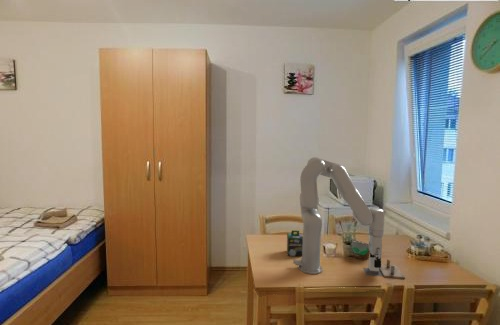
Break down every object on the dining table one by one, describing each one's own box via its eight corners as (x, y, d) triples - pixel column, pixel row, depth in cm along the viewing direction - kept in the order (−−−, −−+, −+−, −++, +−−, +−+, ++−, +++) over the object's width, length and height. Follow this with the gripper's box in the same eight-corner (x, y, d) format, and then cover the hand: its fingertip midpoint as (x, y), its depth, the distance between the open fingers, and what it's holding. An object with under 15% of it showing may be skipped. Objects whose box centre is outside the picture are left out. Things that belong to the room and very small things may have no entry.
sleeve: (370, 273, 163) (370, 260, 163) (368, 269, 168) (368, 257, 167) (378, 274, 163) (379, 261, 162) (376, 270, 167) (377, 257, 167)
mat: (366, 275, 162) (366, 274, 162) (362, 268, 170) (362, 267, 170) (384, 276, 160) (384, 276, 160) (380, 269, 169) (380, 269, 169)
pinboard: (384, 277, 159) (384, 267, 159) (376, 265, 174) (377, 256, 174) (404, 279, 158) (405, 269, 157) (395, 267, 173) (396, 258, 172)
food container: (346, 256, 187) (347, 240, 186) (351, 254, 191) (351, 238, 190) (366, 262, 178) (367, 245, 177) (371, 259, 183) (372, 243, 182)
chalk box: (301, 251, 194) (302, 228, 193) (302, 257, 185) (303, 232, 183) (286, 250, 194) (287, 227, 193) (287, 256, 185) (288, 232, 184)
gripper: (365, 227, 173) (364, 257, 174) (372, 237, 156) (371, 270, 157) (379, 227, 171) (378, 257, 173) (388, 237, 154) (387, 271, 156)
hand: (375, 263), depth 165 cm, fingers open, 9 cm apart
